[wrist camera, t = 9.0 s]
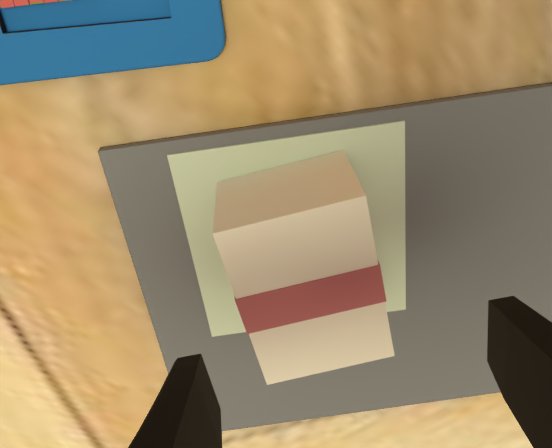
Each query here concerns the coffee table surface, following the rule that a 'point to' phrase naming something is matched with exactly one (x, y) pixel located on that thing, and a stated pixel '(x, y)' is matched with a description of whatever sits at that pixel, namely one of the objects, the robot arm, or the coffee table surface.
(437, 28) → the coffee table surface
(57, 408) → the coffee table surface
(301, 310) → the card deck
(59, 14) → the handheld gaming device
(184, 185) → the mat
